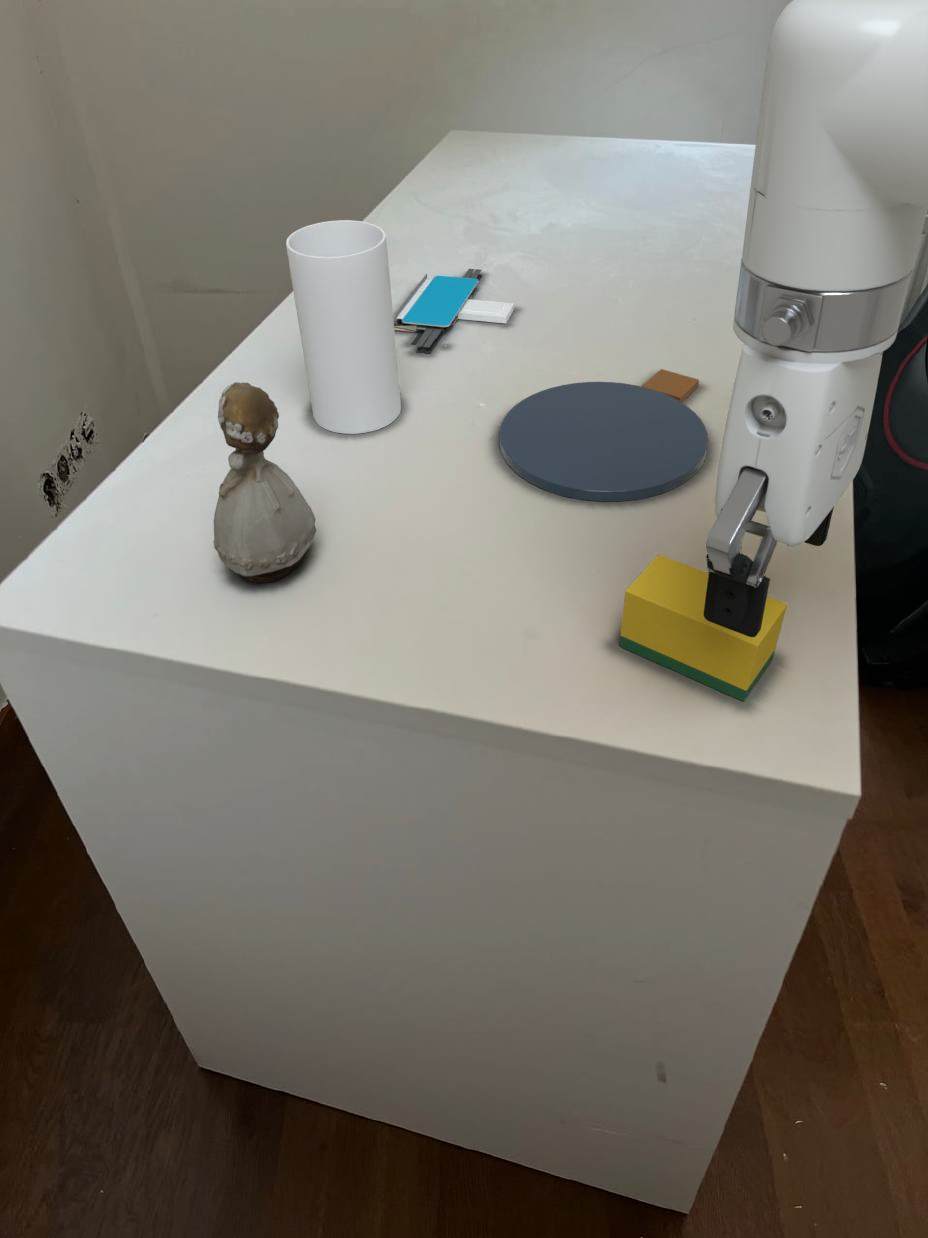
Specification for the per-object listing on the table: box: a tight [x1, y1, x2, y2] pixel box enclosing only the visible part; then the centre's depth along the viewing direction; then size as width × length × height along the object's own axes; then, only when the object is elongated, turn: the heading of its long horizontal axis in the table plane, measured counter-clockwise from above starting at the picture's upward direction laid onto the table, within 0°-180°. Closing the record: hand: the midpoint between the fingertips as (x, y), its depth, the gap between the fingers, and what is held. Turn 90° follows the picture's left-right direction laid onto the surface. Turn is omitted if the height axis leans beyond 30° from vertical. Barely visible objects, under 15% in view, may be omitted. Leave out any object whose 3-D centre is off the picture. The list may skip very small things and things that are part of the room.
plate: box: [499, 381, 709, 502], centre depth 82 cm, size 18×18×1 cm
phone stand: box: [393, 268, 515, 354], centre depth 102 cm, size 20×12×2 cm, turn 164°
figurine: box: [213, 381, 318, 584], centre depth 66 cm, size 8×7×15 cm
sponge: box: [618, 554, 788, 702], centre depth 61 cm, size 5×9×5 cm, turn 54°
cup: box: [285, 219, 402, 435], centre depth 82 cm, size 8×8×16 cm
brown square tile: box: [641, 368, 700, 403], centre depth 88 cm, size 4×4×1 cm
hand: (766, 579), depth 56 cm, fingers open, 9 cm apart
